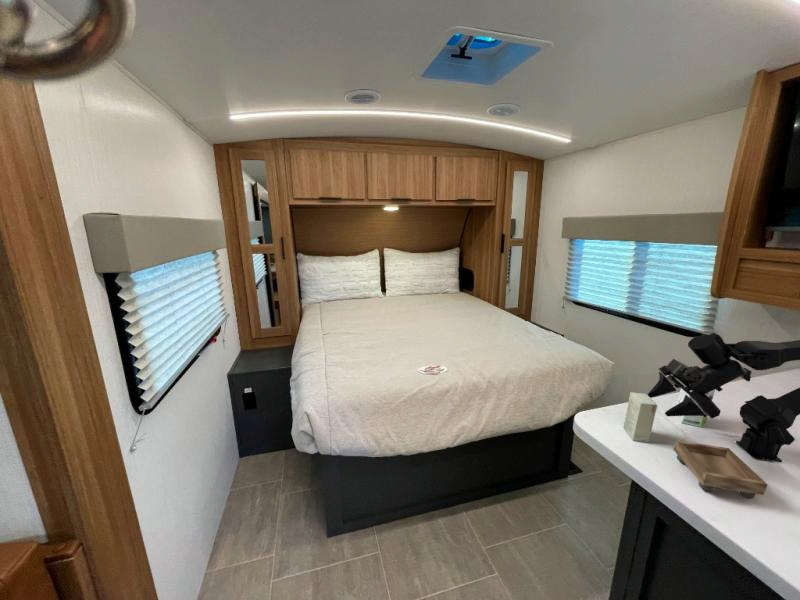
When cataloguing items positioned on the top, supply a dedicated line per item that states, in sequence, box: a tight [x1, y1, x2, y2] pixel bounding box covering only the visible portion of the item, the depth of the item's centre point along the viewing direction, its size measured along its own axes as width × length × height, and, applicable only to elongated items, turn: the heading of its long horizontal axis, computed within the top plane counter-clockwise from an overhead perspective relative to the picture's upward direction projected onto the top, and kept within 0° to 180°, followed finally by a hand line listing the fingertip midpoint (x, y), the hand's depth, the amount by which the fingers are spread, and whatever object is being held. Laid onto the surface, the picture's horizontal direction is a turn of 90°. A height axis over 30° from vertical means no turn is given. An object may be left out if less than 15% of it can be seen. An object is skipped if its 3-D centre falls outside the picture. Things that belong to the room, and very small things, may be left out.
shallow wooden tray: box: [673, 440, 769, 500], centre depth 78 cm, size 12×12×5 cm
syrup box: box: [676, 388, 716, 428], centre depth 99 cm, size 6×6×14 cm
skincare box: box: [622, 391, 658, 443], centre depth 93 cm, size 6×4×12 cm
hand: (656, 405), depth 91 cm, fingers open, 9 cm apart
